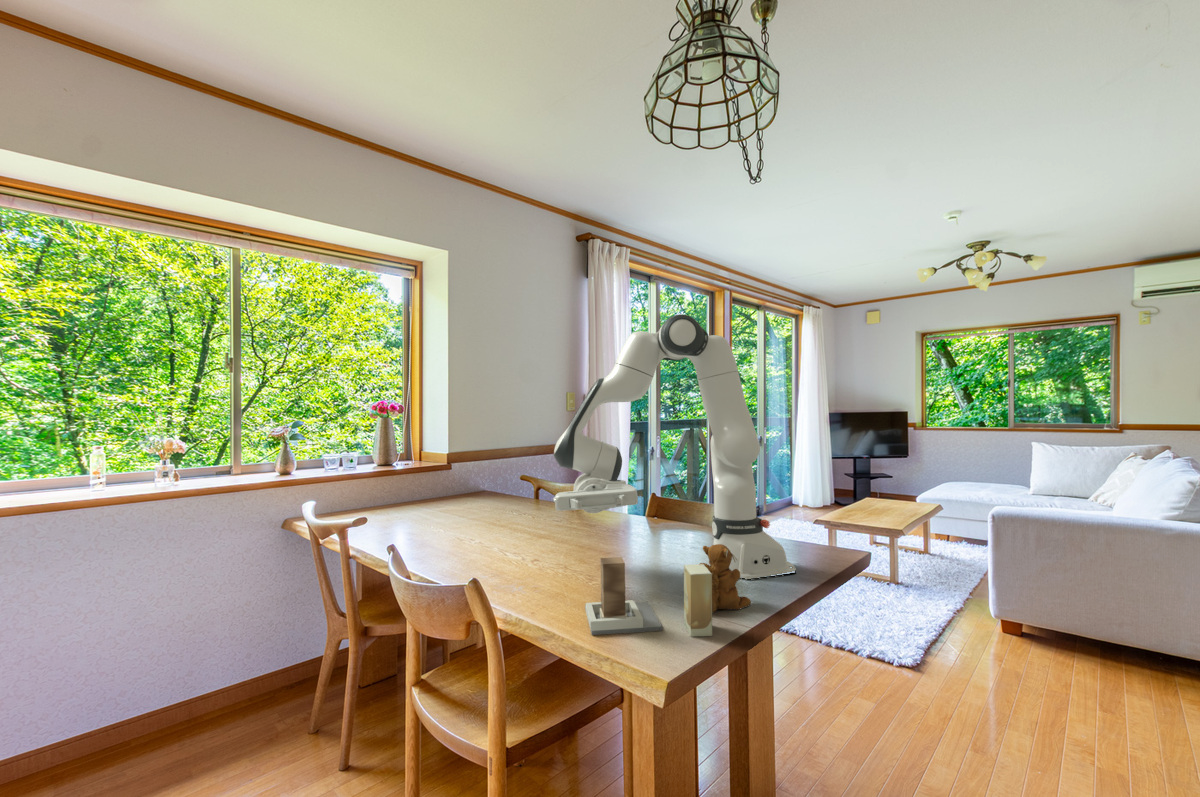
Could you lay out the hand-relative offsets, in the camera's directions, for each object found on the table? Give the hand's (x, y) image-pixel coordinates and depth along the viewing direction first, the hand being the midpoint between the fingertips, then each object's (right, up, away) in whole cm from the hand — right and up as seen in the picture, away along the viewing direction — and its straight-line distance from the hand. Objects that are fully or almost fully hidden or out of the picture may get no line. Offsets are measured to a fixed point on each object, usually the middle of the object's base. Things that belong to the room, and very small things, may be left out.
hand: (599, 504), depth 125 cm
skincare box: (+19, -22, -19) cm, 34 cm away
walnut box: (+3, -21, -14) cm, 25 cm away
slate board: (+5, -22, -12) cm, 25 cm away
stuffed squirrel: (+26, -22, -6) cm, 34 cm away
